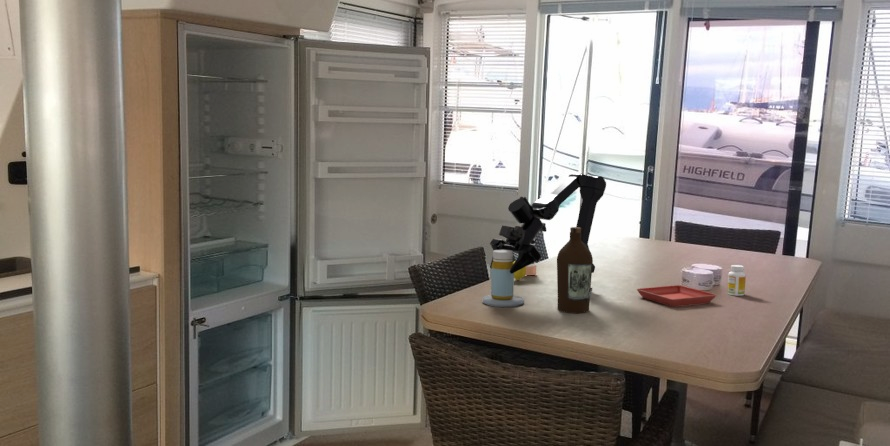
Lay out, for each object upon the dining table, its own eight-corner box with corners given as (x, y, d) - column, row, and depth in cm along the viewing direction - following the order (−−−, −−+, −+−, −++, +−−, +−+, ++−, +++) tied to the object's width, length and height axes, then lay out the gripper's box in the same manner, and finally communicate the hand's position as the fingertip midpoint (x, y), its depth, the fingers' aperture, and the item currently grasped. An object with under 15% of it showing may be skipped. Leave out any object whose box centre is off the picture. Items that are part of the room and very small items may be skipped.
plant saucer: (634, 298, 248) (635, 288, 248) (678, 293, 255) (679, 284, 255) (671, 309, 231) (672, 299, 231) (717, 305, 239) (718, 294, 238)
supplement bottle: (744, 293, 255) (745, 265, 254) (744, 296, 250) (746, 267, 249) (727, 292, 257) (728, 264, 256) (727, 295, 252) (729, 266, 251)
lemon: (525, 282, 270) (525, 260, 269) (509, 281, 271) (510, 259, 270) (526, 279, 275) (527, 258, 274) (511, 279, 276) (511, 257, 276)
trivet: (532, 302, 237) (532, 298, 237) (505, 309, 228) (505, 305, 228) (501, 296, 247) (501, 292, 246) (473, 302, 238) (474, 298, 237)
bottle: (487, 296, 240) (487, 250, 238) (506, 295, 243) (507, 248, 241) (497, 301, 233) (498, 253, 232) (517, 299, 236) (518, 252, 234)
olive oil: (550, 306, 232) (552, 225, 229) (582, 305, 235) (585, 225, 232) (563, 314, 222) (565, 230, 219) (596, 313, 224) (599, 229, 221)
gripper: (494, 213, 244) (467, 250, 239) (535, 219, 229) (507, 258, 224) (512, 236, 250) (486, 272, 244) (552, 242, 235) (526, 281, 230)
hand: (500, 270), depth 235 cm, fingers open, 9 cm apart
